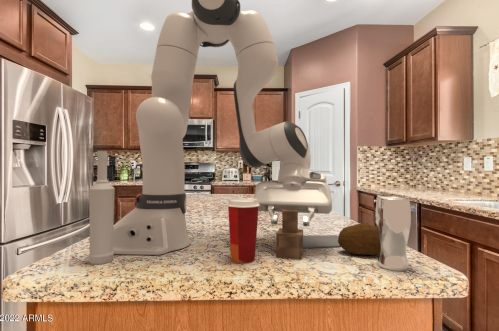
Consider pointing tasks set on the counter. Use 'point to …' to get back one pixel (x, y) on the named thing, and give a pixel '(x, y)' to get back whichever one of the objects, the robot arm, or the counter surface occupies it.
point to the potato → (359, 239)
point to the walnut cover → (289, 236)
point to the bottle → (101, 215)
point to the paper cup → (243, 228)
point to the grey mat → (320, 241)
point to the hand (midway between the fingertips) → (289, 224)
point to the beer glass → (393, 231)
